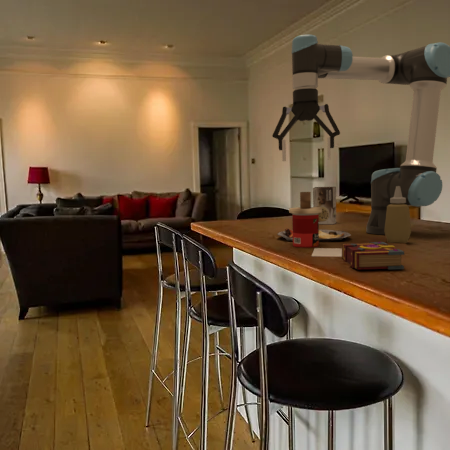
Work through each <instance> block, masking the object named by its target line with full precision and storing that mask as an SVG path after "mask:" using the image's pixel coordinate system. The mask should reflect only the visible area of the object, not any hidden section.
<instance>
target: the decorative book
mask: <svg viewBox="0 0 450 450" xmlns="http://www.w3.org/2000/svg"><path fill="white" fill-rule="evenodd" d="M341 248H342V257H341V259H342V260H343V261H344V262H345V263H348V264H349V265H350V268H352V269H356V270H357V271H358V270H360V271H361V270H381V269H382V270H404V269H405V265H403V264H402V256H403V255H405V251H404V250H402V249H399V248H396V246H395V245H392V244H391V245H389V243H388V242H387V243H386V242H384V241H373V242H371V241H370V242H364V243H362V242H360V243H359V242H358V243H356V242H355V243H341Z"/></svg>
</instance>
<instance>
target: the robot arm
mask: <svg viewBox="0 0 450 450" xmlns="http://www.w3.org/2000/svg"><path fill="white" fill-rule="evenodd" d="M291 65H292V69H291V70H292V80H291V81H292V89H293V91H292V107H287V106H283V107H282V110H281V115H280V118H279V120H278V122H277V125H276V127H275V129H274V131H273V133H272V135H271V136H272V138H274V139H276V140H278V150H279V151H282V153H281V155H282V157H281V158H282V159H281V160H282V162H287V154H286V151H287V150H286V149H287V147H286V139H284V138H285V137H286V136H287V134H288V132H290V130H291V129H292V128H293V127H294V125H295V124H296V123H297V122H298V121H300V122H304V121H309V122H310V121H313V120H315V122H317V124H318V125H319V126H320V127H321V128H322V129H323V131H325V133H326V134H327V135H328V136H329V137H327V160H330V161H331V149H334V148H335V137H337V136H339V135H341V130H340V129H339V128H338V125H337V123H336V121H335V119H334V117H333V116H332V114H331V112H330V108H329V104H328V103H325V104H324V105H320V104H319V91H318V89H317V88H318V87H319V85H318V84H319V82H318V81H319V79H326V80H327V79H329V80H330V79H331V80H332V79H333V80H358V81H359V80H360V81H361V80H363V81H364V80H365V81H378V82H379V83H380V84H390V85H401V86H403V85H404V86H409V87H410V88H411V89H412V90H413V92H412V93H413V94H412V102H411V103H412V104H411V111H410V120H409V129H408V136H407V137H408V139H407V146H406V156H405V161H404V162H403V163H401V164H400V166H399V167H392V168H384V169H379V170H375V171H374V172H372V174H371V178H370V179H371V181H370V193H371V194H370V195H371V197H370V198H371V200H370V201H371V202H370V203H371V206H370V209H371V210H370V214H369V217H368V221H367V223H366V227H365V228H366V229H365V230H366V233H368V234H371V235H372V234H374V235H385V232H384V229H385V220H386V212H387V206H388V205H390V204H392V203H390V198H393V197H394V193H395V189H396V186H400V188H401V193H402V197H403V198H406V203H404V204H406V205H408V206H409V207H410V206H411V207H416V208H417V207H418V208H419V207H427V206H431V205H432V204H434V203H435V202H436V201H437V200H438V199H439V197H440V196H441V193H442V192H443V191H442V190H443V180H442V179H441V176H440V174H438V172H437V166H436V165H435V164H434V162H433V161H434V153H435V143H436V137H437V136H436V135H437V129H438V128H437V126H438V118H439V117H438V116H439V108H440V100H441V92H442V90H444V89H445V88H446V87H447V83H448V78H449V77H450V45H449V44H448V43H445V42H442V41H439V42H435V43H429V44H427V45H423V46H421V47H418V48H415V49H412V50H407V51H404V52H402V53H398V54H392V55H390V54H386V55H383V56H381V57H372V56H371V57H368V56H354V54H353V51H352V49H351V48H350V47H349V46H345V45H340V44H339V45H335V44H322V43H319V42H318V37H317V36H316V35H314V34H309V33H307V34H301V35H297V36H295V37H294V38H293V39H292V41H291ZM320 110H321V111H322V112H323V113H325V116H326V117H327V119H328V121H329V123H330V125H331V127H332V129H333V131H334V132H333V131H332V130H331V129H330V128H329V127H328V126H327V125H326V123H325V122H323V121H322V119H321V118H320V117H319V116H318V115H317V114H318V113H319V112H320ZM290 112H292V114H293V115H294V116H293V117H292V119H291V120H290V121H289V122H288V124H287V125H286V127H285V128H284V129H283V130H282V132H281V129H282V127H283V125H284V122H285V120H286V118H287V116H288V115H290ZM279 133H280V134H279ZM385 236H386V235H385Z"/></svg>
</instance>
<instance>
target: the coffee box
mask: <svg viewBox="0 0 450 450" xmlns="http://www.w3.org/2000/svg"><path fill="white" fill-rule="evenodd" d="M312 207H319V208H322V212H321V213H318V214H319V225H335V224H337V187H336V186H315V187H312Z"/></svg>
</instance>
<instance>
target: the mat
mask: <svg viewBox="0 0 450 450" xmlns="http://www.w3.org/2000/svg"><path fill="white" fill-rule="evenodd" d="M313 248H314V249H313V252H312V253H311V257H331V258H333V257H337V258H338V257H339V258H342V247H340V248H339V247H338V248H336V247H335V248H333V247H332V248H330V247H328V248H327V247H325V248H323V247H321V248H320V247H313Z"/></svg>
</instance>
